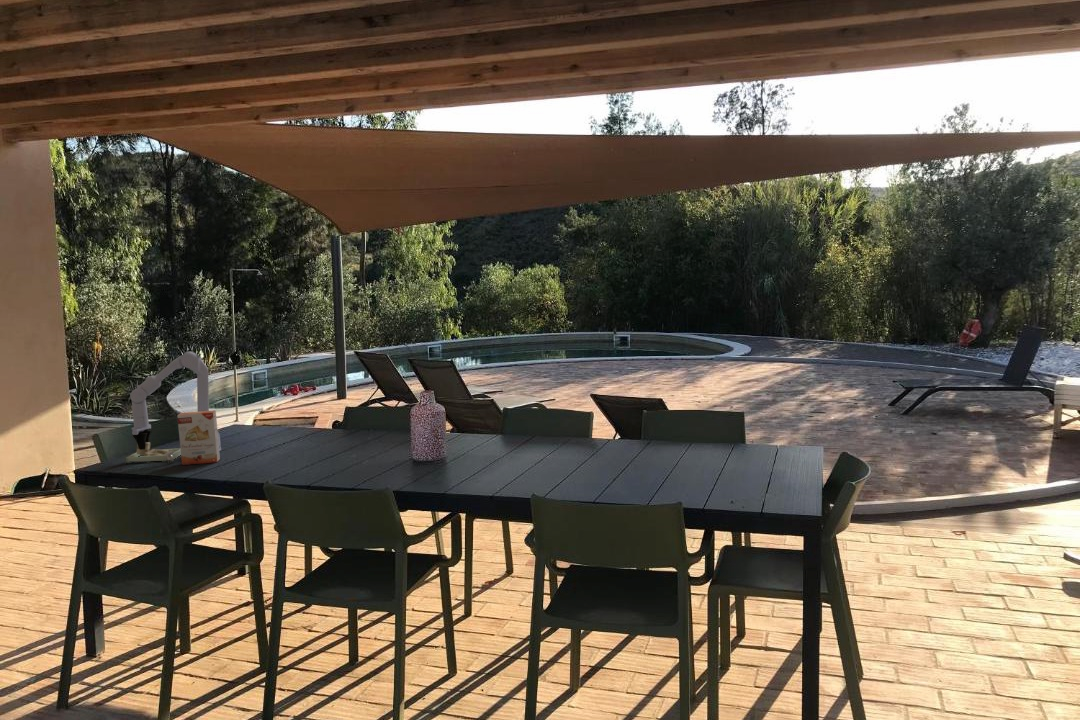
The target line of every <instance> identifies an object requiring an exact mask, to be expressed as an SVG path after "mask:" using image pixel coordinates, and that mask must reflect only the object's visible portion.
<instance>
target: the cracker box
mask: <svg viewBox="0 0 1080 720" xmlns="http://www.w3.org/2000/svg"><path fill="white" fill-rule="evenodd" d="M177 427H178V428H177V429H178V438H179V448H180V449H181V456H180V459H181V465H182V466H186V465H188V464H189V465H199V464H201V465H202V464H212V463H213V464H214V463H218V462H219V461H220V460H221V456H220V455H221V453H220V452H221V451H219V441H218V432H219V431H218V422H217V412H216V410H209V411H201V412H198V411H188V412H180V413H179V414H177Z"/></svg>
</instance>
